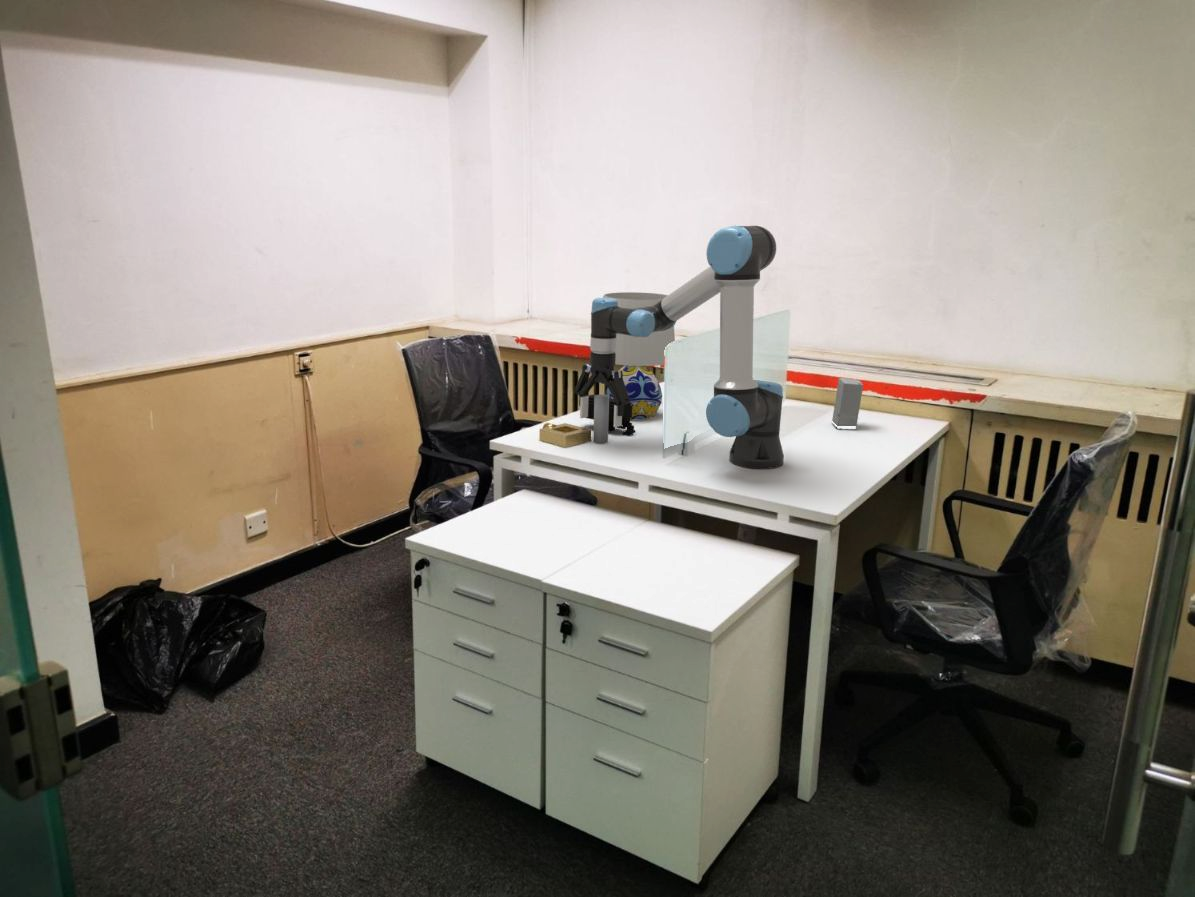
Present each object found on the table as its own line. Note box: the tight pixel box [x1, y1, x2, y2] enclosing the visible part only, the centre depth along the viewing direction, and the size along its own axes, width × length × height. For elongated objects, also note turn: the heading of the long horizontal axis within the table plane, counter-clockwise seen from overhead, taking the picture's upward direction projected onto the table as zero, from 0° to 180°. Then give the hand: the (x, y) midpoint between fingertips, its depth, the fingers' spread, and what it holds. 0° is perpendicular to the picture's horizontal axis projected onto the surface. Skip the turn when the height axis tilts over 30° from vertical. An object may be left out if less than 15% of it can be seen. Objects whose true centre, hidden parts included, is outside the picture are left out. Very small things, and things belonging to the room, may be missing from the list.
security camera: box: [585, 394, 636, 437], centre depth 283 cm, size 7×18×10 cm, turn 53°
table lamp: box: [602, 291, 676, 421], centre depth 300 cm, size 27×27×40 cm
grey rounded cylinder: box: [592, 394, 609, 445], centre depth 269 cm, size 4×4×14 cm
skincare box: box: [831, 377, 864, 427], centre depth 294 cm, size 8×7×16 cm
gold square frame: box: [538, 422, 592, 449], centre depth 271 cm, size 14×11×4 cm
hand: (600, 421), depth 269 cm, fingers open, 13 cm apart
